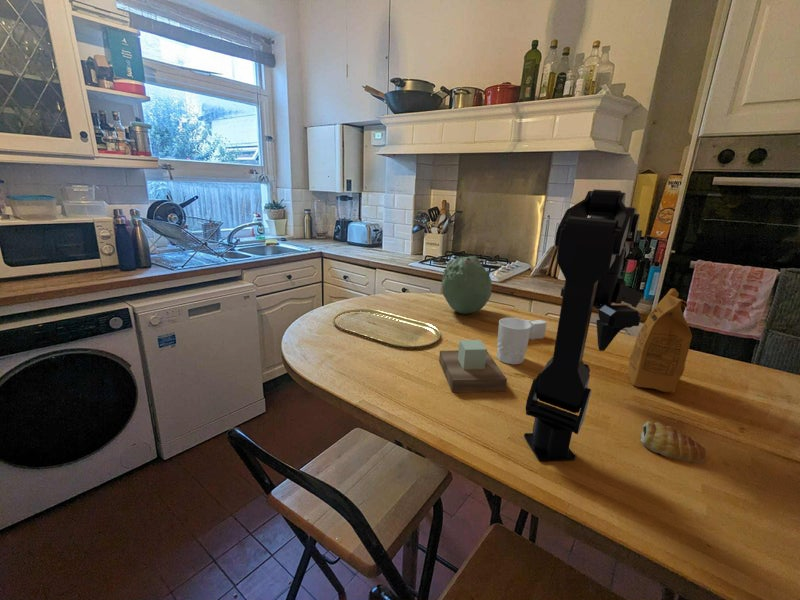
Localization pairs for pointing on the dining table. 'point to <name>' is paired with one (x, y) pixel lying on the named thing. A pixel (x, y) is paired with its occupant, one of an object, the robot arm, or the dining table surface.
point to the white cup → (512, 340)
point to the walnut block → (471, 374)
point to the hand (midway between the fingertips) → (588, 340)
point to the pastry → (671, 443)
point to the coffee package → (661, 346)
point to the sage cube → (472, 354)
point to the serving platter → (402, 319)
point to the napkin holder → (537, 329)
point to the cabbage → (466, 284)
